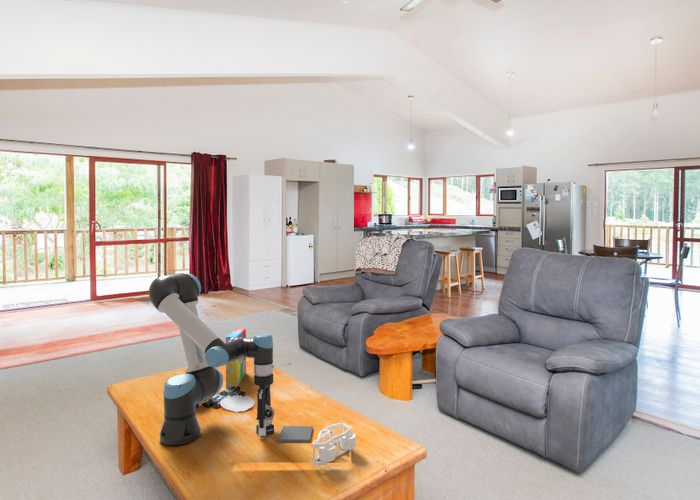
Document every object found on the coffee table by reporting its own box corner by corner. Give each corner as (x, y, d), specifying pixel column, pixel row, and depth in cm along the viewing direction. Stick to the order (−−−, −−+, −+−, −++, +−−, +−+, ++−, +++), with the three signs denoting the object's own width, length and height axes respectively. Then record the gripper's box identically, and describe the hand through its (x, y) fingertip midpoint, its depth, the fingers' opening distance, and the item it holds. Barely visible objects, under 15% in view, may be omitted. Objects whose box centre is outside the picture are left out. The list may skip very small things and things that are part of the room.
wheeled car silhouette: (324, 470, 154) (324, 448, 154) (301, 459, 161) (301, 438, 161) (361, 448, 169) (361, 429, 169) (339, 439, 176) (339, 421, 176)
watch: (263, 438, 177) (263, 410, 177) (254, 431, 184) (254, 404, 183) (276, 434, 181) (276, 407, 180) (266, 427, 187) (266, 401, 187)
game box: (236, 390, 231) (235, 337, 230) (225, 390, 231) (225, 337, 230) (246, 377, 252) (245, 328, 251) (236, 377, 252) (235, 328, 251)
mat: (278, 441, 174) (278, 439, 174) (283, 428, 186) (283, 426, 186) (309, 442, 174) (309, 439, 174) (312, 428, 186) (312, 426, 186)
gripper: (268, 381, 171) (268, 442, 172) (277, 366, 192) (278, 420, 192) (247, 381, 171) (248, 442, 172) (259, 366, 192) (260, 420, 192)
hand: (264, 430), depth 182 cm, fingers closed on watch, 8 cm apart
